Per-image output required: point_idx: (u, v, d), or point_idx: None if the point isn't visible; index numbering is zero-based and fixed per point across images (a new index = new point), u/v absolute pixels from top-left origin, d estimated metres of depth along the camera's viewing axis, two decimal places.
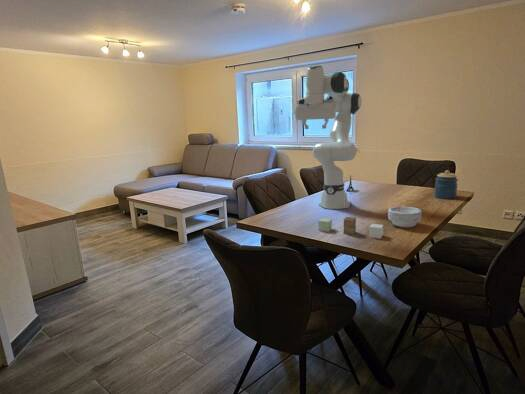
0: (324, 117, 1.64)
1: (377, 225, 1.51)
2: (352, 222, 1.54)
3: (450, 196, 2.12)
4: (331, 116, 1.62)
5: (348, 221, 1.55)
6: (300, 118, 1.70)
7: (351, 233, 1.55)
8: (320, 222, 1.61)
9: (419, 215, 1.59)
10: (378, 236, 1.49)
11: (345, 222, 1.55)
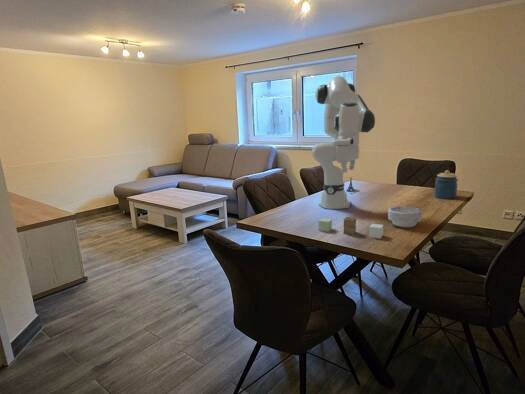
0: (356, 158, 1.55)
1: (377, 225, 1.51)
2: (352, 222, 1.54)
3: (450, 197, 2.12)
4: (358, 156, 1.58)
5: (348, 221, 1.55)
6: (347, 160, 1.44)
7: (351, 233, 1.55)
8: (320, 222, 1.61)
9: (419, 215, 1.59)
10: (378, 236, 1.49)
11: (345, 222, 1.55)
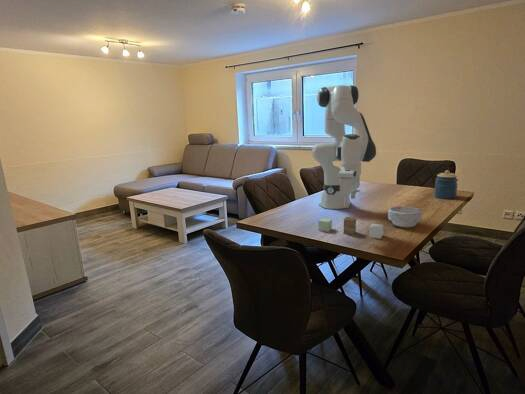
0: (357, 187, 1.57)
1: (377, 225, 1.51)
2: (352, 222, 1.54)
3: (450, 196, 2.12)
4: (359, 185, 1.60)
5: (348, 221, 1.55)
6: (350, 192, 1.46)
7: (351, 233, 1.55)
8: (320, 222, 1.61)
9: (419, 215, 1.59)
10: (378, 236, 1.49)
11: (345, 222, 1.55)
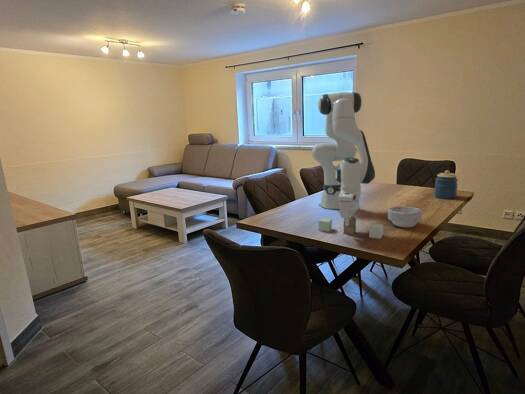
0: (357, 209, 1.59)
1: (377, 225, 1.51)
2: (352, 222, 1.54)
3: (450, 196, 2.12)
4: (358, 206, 1.62)
5: None
6: (349, 215, 1.48)
7: (351, 233, 1.55)
8: (320, 222, 1.61)
9: (419, 215, 1.59)
10: (378, 236, 1.49)
11: None
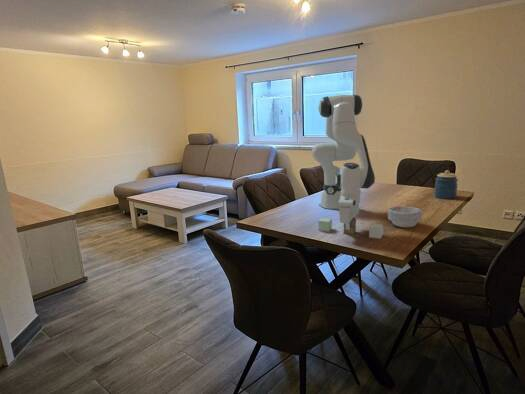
0: (356, 213, 1.60)
1: (377, 225, 1.51)
2: (352, 222, 1.54)
3: (450, 197, 2.12)
4: (358, 211, 1.63)
5: None
6: (349, 221, 1.49)
7: (351, 233, 1.55)
8: (320, 222, 1.61)
9: (419, 215, 1.59)
10: (378, 236, 1.49)
11: None
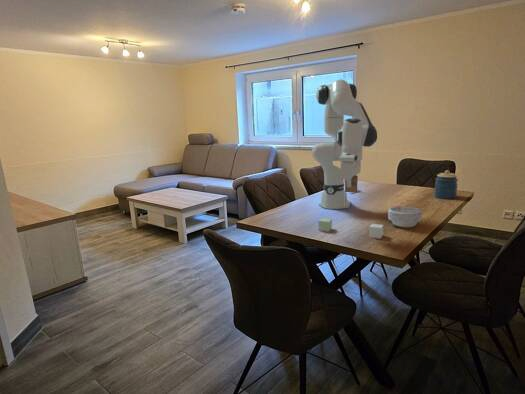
0: (358, 172, 1.57)
1: (377, 225, 1.51)
2: (354, 179, 1.51)
3: (450, 196, 2.12)
4: (360, 170, 1.60)
5: None
6: (351, 177, 1.46)
7: (353, 191, 1.52)
8: (320, 222, 1.61)
9: (419, 215, 1.59)
10: (378, 236, 1.49)
11: None
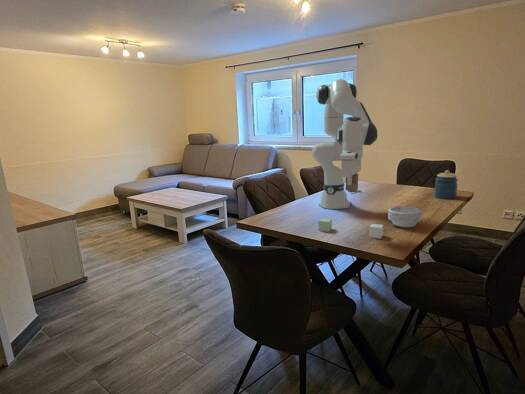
0: (358, 170, 1.57)
1: (377, 225, 1.51)
2: (354, 177, 1.51)
3: (450, 197, 2.12)
4: (360, 168, 1.60)
5: None
6: (351, 174, 1.46)
7: (353, 189, 1.52)
8: (320, 222, 1.61)
9: (419, 215, 1.59)
10: (378, 236, 1.49)
11: None
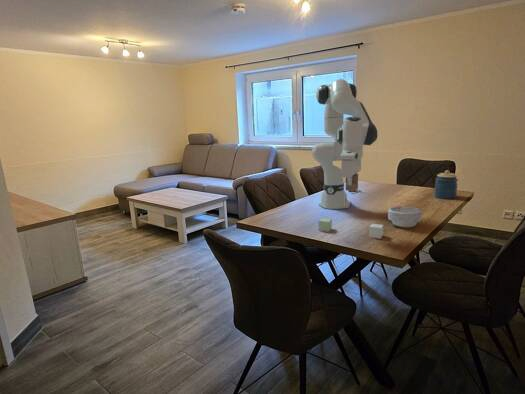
0: (358, 170, 1.57)
1: (377, 225, 1.51)
2: (354, 177, 1.51)
3: (450, 197, 2.12)
4: (360, 168, 1.60)
5: None
6: (351, 174, 1.46)
7: (353, 189, 1.52)
8: (320, 222, 1.61)
9: (419, 215, 1.59)
10: (378, 236, 1.49)
11: None
